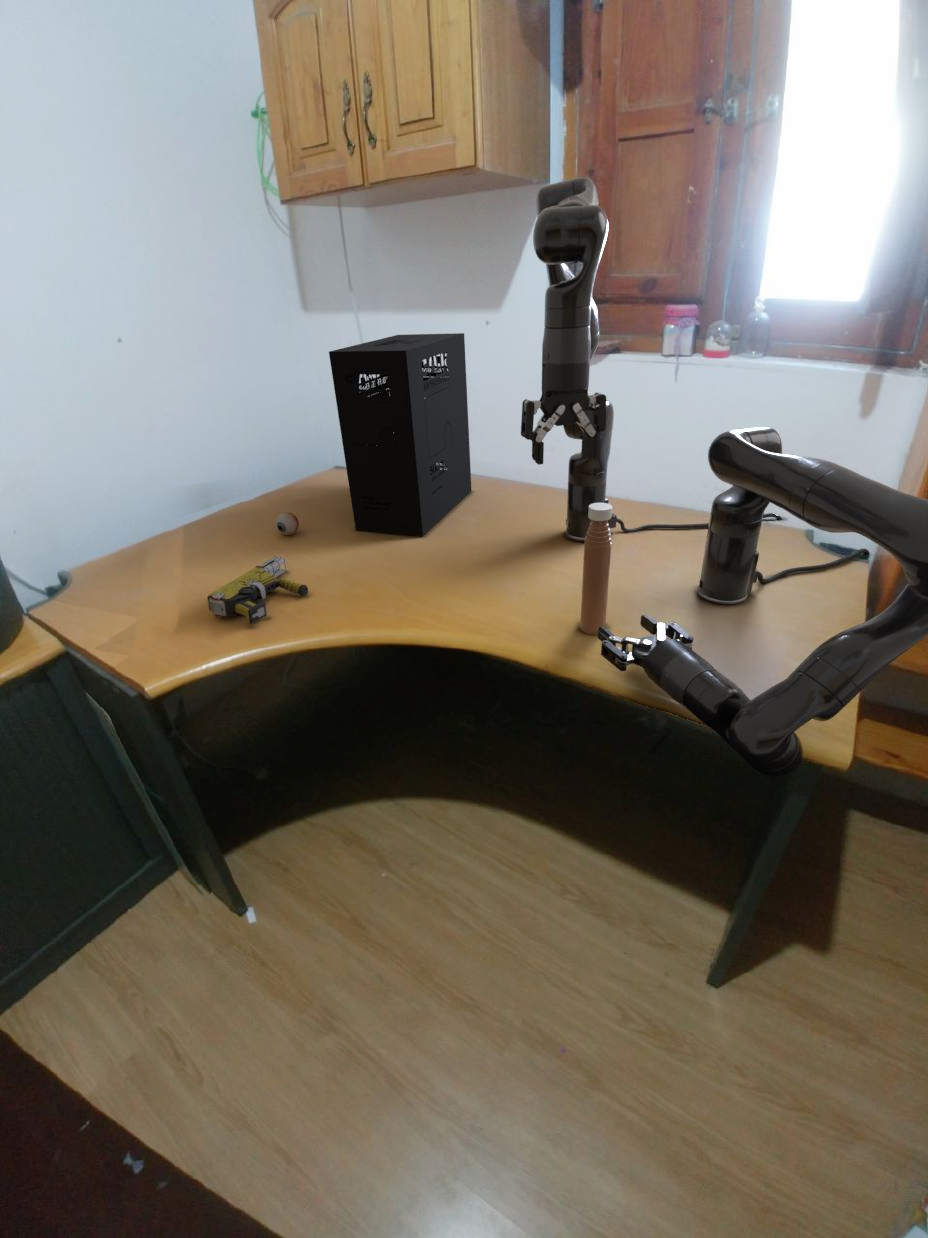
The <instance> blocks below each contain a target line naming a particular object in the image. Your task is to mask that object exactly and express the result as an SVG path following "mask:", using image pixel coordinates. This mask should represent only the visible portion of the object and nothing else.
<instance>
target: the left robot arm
mask: <svg viewBox="0 0 928 1238" xmlns="http://www.w3.org/2000/svg"><path fill="white" fill-rule="evenodd" d="M535 204H536V218H537V219H536V221H535V224H534V227H533V234H532V243H533V245H532V246H533V250H534V253H535V255H536V257H537V259H538V260H539V261H540V262H542V263H543V264H545V269H546V274H547V281H548V287H547V289H546V290H545V295H544V319H543V320H544V321H543V323H544V325H543V326H544V328H543V330H544V331H543V338H542V347H541V349H542V350H541V351H542V352H541V396H540V399H539V400H530V399H526V398H525V399H524V400H523V401H522V403H521V405H522V406H521V420H520V421H521V423H520V436H521V437H522V438H524V439H526V440H528V441H531V458H532V460H533V461H534V462H535V464H537V465H540V466H541V465H544V456H545V455H544V453H545V452H544V447H545V444H544V443H545V442H543V440H544V439H545V438H546V436H547V434H548V433H549V432H551V430H552V429H553V428H554V426H556V427H562V428H563V431H564V433H565V435H566V436H567V437H568V438H570V439H573V440H579V441H581V451H580V452H577V453H574V454H572V455H571V456H570V457H569V459H568V468H567V469H568V473H567V501H566V502H567V503H566V519H565V526H566V527H565V536H566V537H567V538H568V539H570V540H572V541H576V542H583V543H584V542H585V537H586V535H587V531H588V528H589V527H590V523H591V519H589V517H588V511H589V505H590V504H593V503H607V504H609V498H607V497H606V493H607V477H608V465H609V459H610V454H611V445H612V438H613V437H612V436H613V429H614V420H615V417H614V416H615V411H614V406H613V404H612V402H611V401H610V400H607V395H606V394H604V393H600V392H595V393H594V394H591V395H589V387H590V385H589V384H590V371H591V370H590V368H591V361H592V360H593V357H594V355H595V354H596V351H597V348H598V346H599V344H600V343H599V342H600V325H599V313H598V311H599V310H598V307H597V304H596V301H595V300H594V298H593V294H594V293H593V292H594V285H595V280H596V277H597V272H598V268H599V265H600V263H601V259H602V256H603V252H604V249H605V246H606V242H607V239H608V235H609V221H608V216H607V214H606V212H605V211H604V209H603V208H602V207H601V206H599V195H598V190H597V186H596V184H595V181H594V180H593V179H592V178H590V177H588V176H578V177H573V178H571V179H567V180H562V181H559V182H556V183H555V182H554V183H551V184H548V185H547V184H546V185H544V186H542V187H541V188H539V189H538V191H537V194H536V202H535ZM570 264H581V265H580V269H579V271H578V273H577V274H576V275H575V274H574V272H572V270H571V269H570V267H569V265H570ZM539 409H540V410H541V412H542V413H543V414H542V415H541V417H540V418H539V420H538V421H537V423H536V426H535V427H534V420H535V415H536V414H537V413H538V410H539ZM773 513H774V512H769V513H764V515H763V519H765V518H775V519H777V520H778V521H783V520H784V519H783V517H782V516H780V515H779V516H776V515H775V514H776V513H775V514H773ZM607 523H609V528H610V530H611V529H614V528H617V523H618V524H619V525H620V529H621V531H622V532H625V533H636V532H641V531H644V530H648V529H699V528H708V527H709V522H706V523H705V522H703V523H682V524H667V523H665V524H663V523H662V524H659V523H658V524H657V523H656V524H655V523H654V524H653V523H652V524H645V525H641V526H639V527H635V528H632V529H631V528H630V529H629V528H626V526H625V522H624V521H623V519H620V518H618V515H616V514H614V513H612V516H611V519H609V520H608V522H607Z"/></svg>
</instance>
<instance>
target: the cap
mask: <svg viewBox="0 0 928 1238" xmlns="http://www.w3.org/2000/svg"><path fill="white" fill-rule="evenodd" d="M612 514H613V506H612V504H611V503H608V504H607V503H593V504H590V505H589V511H588V517H589V519H591V520H595V521H606V520H609V519H611V516H612Z"/></svg>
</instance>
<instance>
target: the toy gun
mask: <svg viewBox="0 0 928 1238" xmlns="http://www.w3.org/2000/svg"><path fill="white" fill-rule="evenodd" d="M282 565H284V568H281V566H282ZM284 573H287V561H286V559H285V557H282V556H280V557H279V556H278V555H273V557H271V558H270V559H268V560H267V561H264V562H262V563H261V564H260V565H255V566H254V567H253V568H251V569H250V570H248V571H246V572H245V573H243V574H242V575H240V576H237V577H236V578H234V579H233V580H231V581H229V582H228V583H226V584H225V585H223V586H221V587H220V588H218V589H216V590H215V591H213V592H211V593H210V594H208V596H206V597H207V599H206V600H207V603H208V609H209V611H210V612H211V613H212V614H213V615H214V617H218V618H222V617H234V616H238V615H242V616H245V617H247V618H248V619H249V624H251V625H253V624H254V623H257V622H258V621H260V620H262V619H264V618H265V617H268V616H267V608H266V603H265V602H264V600H266V599H267V594H268V593H270V592H273V591H275V590H276V589H278V588H280V589H282V590H286V591H289V592H291V593H293V594H297V595H298V596H300V597H304V596H306V595H308V593H309V587H308V586H307V584H302V583H300V582H296V581H294V580H291V579H288V578H286V577H281V578H280V579H279V580H277V579H276V578H278V577H280V576H281V575H282V574H284Z"/></svg>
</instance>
